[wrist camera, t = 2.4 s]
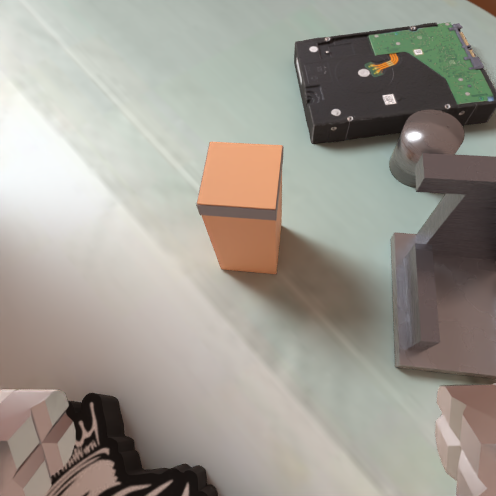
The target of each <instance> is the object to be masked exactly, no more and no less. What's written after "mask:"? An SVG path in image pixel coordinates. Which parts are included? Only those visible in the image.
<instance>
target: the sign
mask: <svg viewBox="0 0 496 496" xmlns="http://www.w3.org/2000/svg"><path fill="white" fill-rule="evenodd" d="M68 403H69V406H68V408H67V410H66V412H65V414H66V415H67V416H68V417H69V418H70V419H71V420H72V421H73V422H74V426H75V430H76V442H75V445H74V448H73V452H72V455H71V457H70V459H69V460H68V462H67V463H66V465H65V466H64V468H62V469H61V470H59V471H58V472H56V473H55V474H54V475H52V476H51V482H52V486H51V487H50V489H49V490H48V492H47V493H46V495H45V496H218V495H217V491H216V489H215V487H214V486H213V485H211V484H208V485H207V476H206V470H205V469H204V468H203V467H202V466H195V467H193V468H192V467H190V466H189V465H187V464H182V465H179V466H176V467H174V468H171V469H168V468H160V469H152V470H144V469H143V468H142V466H141V461H140V457H139V454H138V452H137V451H136V450H135V448H134V440H133V439H131V438H130V437H126V436H125V434H124V425H123V420H122V416H121V412H120V407H119V402H118V400H117V398H115V397H112V396H107V395H101V394H96V393H89V394H87V395H86V396H85V397H84V398H83V400H82V402H74V401H68Z"/></svg>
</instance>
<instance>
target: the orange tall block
mask: <svg viewBox="0 0 496 496" xmlns="http://www.w3.org/2000/svg"><path fill="white" fill-rule="evenodd" d="M282 164H283V146H282V145H264V144H244V143H224V142H210V143H209V148H208V153H207V157H206V162H205V167H204V172H203V176H202V181H201V186H200V190H199V195H198V200H197V205H196V206H197V208H198V211H199V214H200V215H202V218H203V221H204V223H205V226H206V229H207V232H208V234H209V237H210V240H211V243H212V245H213V248H214V251H215V253H216V256H217V259H218V262H219V264H220V267H221V269H223V270H234V271H246V272H257V273H268V274H277V264H278V254H279V244H280V234H281V216H282Z"/></svg>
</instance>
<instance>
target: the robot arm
mask: <svg viewBox="0 0 496 496" xmlns="http://www.w3.org/2000/svg"><path fill="white" fill-rule="evenodd" d="M437 404H438V406H439V408H440V410H441V412H442V415H441V416H440V417H439V418H438V419H437V420H436V422H435V437H436V444H437V450H438V453H439V456H440V460H441V462H442V465H443V467H444V469H445V471H446V473H447V474H448V475H450V476H451V477H452V478H454V479H455V480H456V481H457V487H456V495H457V496H496V384H492V385H441V386H439V389H438V392H437ZM68 406H69V403H68V400H67V397H66V394H65V393H64V392H63V391H61V390H47V389H20V390H18V389H1V390H0V496H45V495H46V493H47V492H48V490H49V489H50V487H51V486H52V482H51V476H52V475H54V474H55V473H56V472H58V471H59V470H61V469H62V468H64V466H65V465H66V463H67V462H68V460H69V459H70V457H71V455H72V452H73V448H74V445H75V442H76V430H75V426H74V422H73V421H72V420H71V419H70V418H69V417H68V416H67V415H66V414H65V412H66V410H67V408H68Z"/></svg>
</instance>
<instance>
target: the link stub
mask: <svg viewBox="0 0 496 496" xmlns="http://www.w3.org/2000/svg"><path fill="white" fill-rule="evenodd" d="M463 140H464V129H463V127H462V125H461V124H460V122H459V121H458V120H457V119H456V118H455V117H453V116H452V115H450V114H448V113H446V112H443V111H439V110H422V111H418V112H416V113H414V114H412V115H411V116H410V117H409V118H408V119H407V120H406V122H405V125H404V127H403V130H402V132H401V134H400V137H399V139H398V142H397V144H396V146H395V149H394V151H393V154H392V156H391V158H390V162H389V167H390V171H391V173H392V175H393V176H394V177H395V178H396V179H397V180H398V181H399V182H401V183H403V184H405V185H407V186H410V187H416V179H415V166H416V164H417V163H418V161H419V159H420V157H421V155H422V153H429V154H449V155H455V153H456V152H457V150H458V149H459V147H460V146H461V144H462V142H463Z"/></svg>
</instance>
